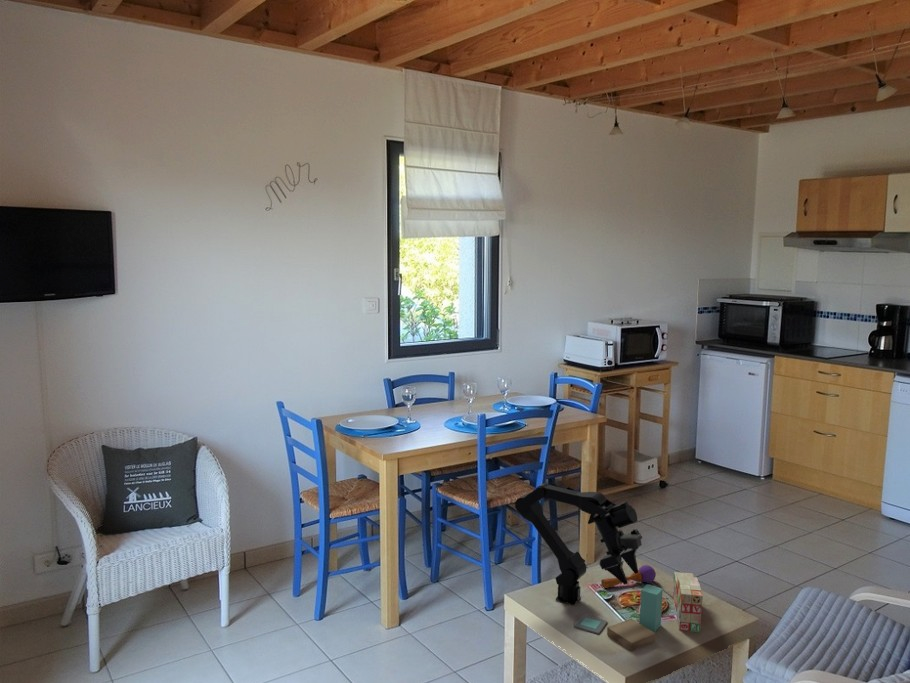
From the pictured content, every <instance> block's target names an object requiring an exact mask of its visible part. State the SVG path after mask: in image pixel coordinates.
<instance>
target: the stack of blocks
mask: <svg viewBox="0 0 910 683" xmlns="http://www.w3.org/2000/svg"><path fill="white" fill-rule="evenodd" d="M672 588H673V592H672V598H673V605H674V604H675V605H674V608H675V607H676V611H675V612H677V615H676V618H677V619H676V620H677V625H678V631H681V630H683V631H684V632H690V631H693V632H692V633H699V632H700V633H701V626H702V623H701V621H702V613H703V612H702V611H703V598H704V595H703V592H702V588H701V585H700V582H699V580H698V577H697V576H694V573H691V572H679V571H678V572H677V571H674V572H673V587H672ZM683 631H682V632H683Z"/></svg>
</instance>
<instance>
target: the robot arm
mask: <svg viewBox="0 0 910 683" xmlns="http://www.w3.org/2000/svg"><path fill="white" fill-rule="evenodd" d="M543 499H547V500H551V501H555V502H559V503H563V504H566V505H571V506H573V507H576V508H578V509H579V510H580V511H581V512H584V513H586V514H588V515H589V518H588V522H587V524H588V525H591V524H593V523H594V524H595V526H596V529H597V530H598V532H599V534H600V535H599V536H601V538H600V539H599V541H600V543H602V544H603V543H604V545H605V547H606V549H607V551H606V552H605V553H606V555H605V556H603V557H602V558H601V559H600V560H599V566H600V568H601V570H604V571H607V572H608V573H610V574H611V575H613V577H614V578H617V579H619V580H620V581H621V582H622V583H621V584H623V585H624V586H625V585H628V583H629V582H628V581H627V579H626V577H627V576H626V574H625V571H624V569H623V565H624V562H625V564H627V566H628V567H629V568H630V570H631V571H632V572H633V573H635V574H636V573H638V570H639V567H638V563H637V561H638V560H637V556H636V553H637V551H638V549H639V548H640V547H641V546H642V545H643V544H642V539H643V536H642V535H641V533H640V532H639V530H638V529H632V530H631V532H629V533H626V534H625V533H624V531H623V530H622V529H620V530H619V529H618V528H623V527H626V526H630V525H632V524H634V523H637V521H638V513H637V511H636V510H635V508H633V506H632V505H630V504H629V503H628V501H624V502H622V503H620V504H615V503H614V502H613V501H611V500H609V499H608V498H606V496H605V495H604V494H603V493H602V492H599V491H585V492H584V491H583V492H582V491H576V490H572V489H568V488H564V487H560V486H556V485H552V484H549V483H547V482H545V483H542V484H540V485H538V486H537V487H536V488H535V489H534V490H533V491H531V492H527V493H525V494H524V495H521V496H520V497H518V498H516V499H515V503H514V509H515V511H516V512H517V513H518V514H519V515H520V516H521V518H523V519H525V520H526V521H528V522H530V523H531V524H532V525H533V527H534V528H535V529H536V531H537V533H539V534H538V535H539V536H541V539H542V540H543V541H544V543H545V544H546V545H547V546H548V548H549V549H550V550H551V553H553V555H554V557H556V559H557V563H558V568H559V570H560V573H559V574H558V575H557V576H556V577H555V578H554V579H555V582H556V585H557V596H556V597H555V601H557V602H562V603H564V604H568V605H572V606H574V605H575V604H577V602H578V601H579V600H580V599H581V586H580V581H579V580H580V579H581V578H582V577H583V576H584V575H585V574H586V572H587V568H588V567H587V564H586V559H584V558H583V557H582V555H581V554H580V552H579V551H577V550H576V552H573V551H572V550H570V549H569V548H568V547H567V545H566V544H565V542H564V540H562V539H561V537H560V535H559V534H558V533H557V531H556V530H555V529H554V527H553V526H552V524H551V523H550V522H549V521H548V519H547V517H546V516H545V514H544V512H543V505H542V503H541V502H540V501H542V500H543Z"/></svg>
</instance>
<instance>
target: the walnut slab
mask: <svg viewBox="0 0 910 683" xmlns="http://www.w3.org/2000/svg"><path fill="white" fill-rule="evenodd" d="M607 635H608V636H607ZM606 636H607V637H609V638H610V639H611V640H613V639H614V640H613V641H615V642H616V643H618V644H619V645H621V646H623V647H624V648H626V649H627V650H629V651H630V652H634V651H636V650H638V649H641V648H644V647H645V646H648V645H650V643H651V644H653V643H656V642H655V641H656V640H657V638H656V637H657V633H656V632H653V631H651V630H649V629H648V628H646V627H644V626H643V625H641V624H639V622H638V621H636V620H635V619H633V618H629V619H626V620H624V621H621V622H618V623H616V624H612V625H611V626H607V629H606Z"/></svg>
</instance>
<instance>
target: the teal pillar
mask: <svg viewBox="0 0 910 683" xmlns="http://www.w3.org/2000/svg"><path fill="white" fill-rule="evenodd" d="M663 591H664V589H663V588H661V587H659V586H655V585H651V584H649V583H646V585H645V586H644V587H643V588H641V590H640V605H639V606H640V607H639V622H638V623H639V624H641V625H643V626H644V627H646V628H648V629H649V630H651V631H654V633H656V632H657V631H658V629H659V628H660V627H661V626H662V612H663V611H662V609H663V607H662V606H663V593H664V592H663ZM660 625H661V626H660Z"/></svg>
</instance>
